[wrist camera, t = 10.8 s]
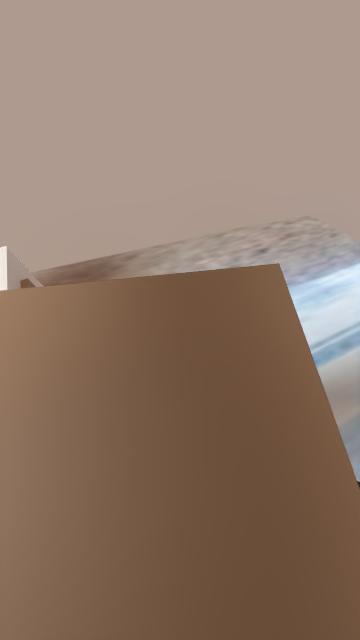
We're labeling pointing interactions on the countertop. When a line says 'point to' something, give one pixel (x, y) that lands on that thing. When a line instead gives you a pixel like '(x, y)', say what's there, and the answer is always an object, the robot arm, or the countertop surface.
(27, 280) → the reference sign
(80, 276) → the countertop surface
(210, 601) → the walnut block
